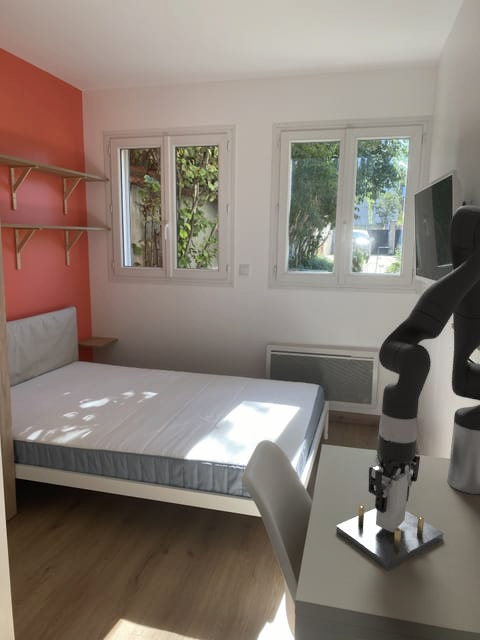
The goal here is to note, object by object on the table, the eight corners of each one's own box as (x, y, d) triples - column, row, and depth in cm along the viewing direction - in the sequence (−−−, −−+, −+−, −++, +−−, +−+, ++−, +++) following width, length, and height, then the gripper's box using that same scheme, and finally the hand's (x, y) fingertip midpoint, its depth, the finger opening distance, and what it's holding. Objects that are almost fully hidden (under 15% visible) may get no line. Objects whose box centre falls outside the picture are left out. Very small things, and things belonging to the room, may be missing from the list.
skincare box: (386, 513, 102) (390, 463, 100) (405, 521, 99) (410, 470, 97) (374, 525, 98) (378, 474, 96) (394, 534, 95) (398, 481, 93)
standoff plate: (389, 507, 110) (391, 486, 109) (442, 539, 98) (445, 516, 97) (336, 531, 100) (337, 509, 99) (387, 570, 88) (390, 545, 87)
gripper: (404, 420, 102) (398, 488, 105) (360, 434, 94) (355, 507, 97) (434, 432, 96) (427, 504, 99) (389, 448, 88) (383, 525, 91)
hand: (391, 505), depth 98 cm, fingers closed on skincare box, 6 cm apart
